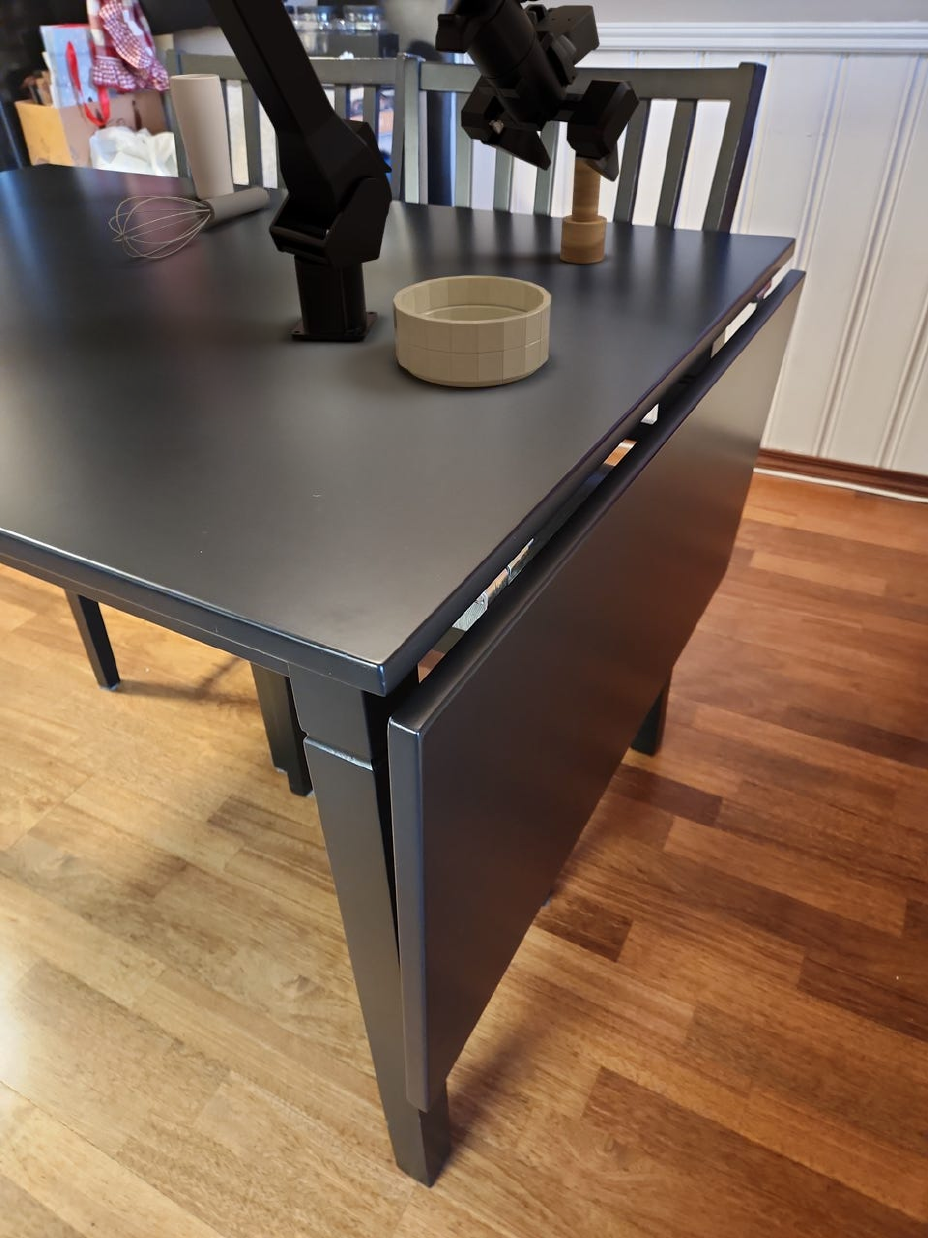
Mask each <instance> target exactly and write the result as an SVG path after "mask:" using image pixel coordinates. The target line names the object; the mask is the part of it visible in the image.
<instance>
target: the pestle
mask: <svg viewBox="0 0 928 1238" xmlns="http://www.w3.org/2000/svg"><path fill="white" fill-rule="evenodd" d="M576 153H577V152H576V151H575V150H574V168H573V185H572V200H571V201H572V202H571V214H569V215H566V216H563V217H562V218H561V232H560V233H561V235H560V252H559V253H560V254H559V259H560V260H561V261H563V262H566V263H570V264H575V265H576V264H578V265H589V264H596V263H599V262H602V261H603V260H604V259H605V249H606V236H607V226H608V225H607V224H608V223H607V222H608V218H607V217H605V216H603V215H600V214H599V207H600V193H601V179H602V175H600V174H599V173H597V172H596V171H595V170H593V169H592V168H591V167H589V166H588V165H586V164H585V163H583V162H582V161H581V160H579V159H578V158H576V157H575V155H576Z"/></svg>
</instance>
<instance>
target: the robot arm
mask: <svg viewBox="0 0 928 1238" xmlns="http://www.w3.org/2000/svg"><path fill="white" fill-rule="evenodd" d="M538 1H540V0H454V1H453V2H452V5H451V6H450V8H449V10H448V11H447V13H441V12H439V13H438V15H437V17H436V20H437V29H436V33H435V37H434V50H435V51H436V52H437V53H440V54H459V55H461V54H462V55H464V54H466V53H467V55H468V56H469V58H470V60H471V61H472V62H473V64H474V66H475V67H476V69H477V70H478V72H479V74H481V75H480V76H479V78H478V80H477V82H476V84H475V85H474V87H473V88H472V91H471V93H470V94H469V96H468V98H467V99H466V101H465V103H464V105H463V106H462V108H461V109H460V127H461V128H462V129H463V131H464V132H465V134H466V135H467V136H468V138H469V139H470V140H475V141H480V143H481V144H483V145H485V146H488V147H491V148H493V149H495V150H498V151H500V152H503V153H504V154H507V155H509V156H511V157H514V158H516V159H519V160H521V161H523V162H524V163H527V164H528V165H531V166H533V167H535V168H537V169H540V170H541V171H544V172H546V171H548V170H549V168H550V167H551V165H552V160H551V158H550V154H549V152H548V150H547V148H546V147H545V144H544V142H543V141H542V139H541V137H540V135H539V132H541V133H542V132H543V130H544V129H545V126H546V125H547V123H549V122H557V123H566V135H565V138H566V142H567V143H568V146H569V147H570V149H572V150H573V151H574V152H575V151H576V152H577V153H576V155H575V154H574V158H575V157H576V158H578V159H579V160H581V161H582V162H583V163H585V164H586V165H588V166H589V167H591V168H592V169H593V170H595V171H596V172H597V173H599V174H600V175H601V177H603V178H604V179H606V180H608V181H609V182H611V183H614V182H616V180H617V178H618V176H619V175H620V162H619V161H620V160H619V147H618V146H619V145H618V142H619V139H620V137H621V136H622V134H623V132H624V131H625V129H626V127H627V125H628V123H630V120H631V118H632V117H633V115H634V114H635V112H636V110H637V108H638V106H639V105H640V99H639V96H638V94H637V91H636V90H635V88H634V85H633V83H632V81H631V80H626V79H611V78H596V79H591V81H590V83H589V84H588V86H587V88H586V89H585V91H584V93H575V92H568V91H567V88H568V86H572V85H573V84H574V83H575V81H576V80H577V78H578V76H579V72H578V70H577V68H576V65H578V64H579V63H580V62H581V61H582V60H583V59H584V58H585V57H587V55H588V54H590V52H592V51H596V50H597V49H598V48H599V46H600V44H601V43H600V38H599V37H600V36H599V33H598V27H597V22H596V17H595V11H594V7H593V6H592V5H589V4H582V5H581V4H580V5H579V4H577V5H575V4H566V5H565V4H564V5H560V6H557V7H549V8H547V7H546V6H545V5H544V4H542V3H534V2H538ZM205 2H206V3H207V5H208V7H209V9H210V12H211V13H212V15H213V17H214V19H215V21H216V22H217V24H218V26H219V28H220V30H221V32H222V33H223V35H224V37H225V39H226V41H227V43H228V45H229V47H230V49H231V51H232V53H233V54H234V56H235V58H236V60H237V62H238V64H239V65H240V68H241V70H242V71H243V74H244V75H245V77H246V78H247V81H248V83H249V84H250V86H251V88H252V90H253V92H254V94H255V96H256V97H257V99H258V101H259V103H260V105H261V107H262V109H263V111H264V113H265V115H266V117H267V119H268V120H269V122H270V124H271V126H272V128H273V129H274V132H275V135H276V138H277V148H278V161H279V171H280V174H281V176H282V180H283V182H284V185H285V187H286V190H287V194H286V197H285V198H284V200H283V202H282V204H281V205H280V207H279V209H278V211H277V212H276V214H275V216H274V217H273V219H272V220H271V223H270V225H269V226H268V233H269V235H270V237H271V239H272V241H273V244H274V245H275V248H276V250H277V252H280V253H286V254H289V255H292V256H293V262H294V263H293V264H294V269H295V277H296V285H297V292H298V299H299V300H298V301H299V306H300V314H301V320H300V321H299V322H298V323H297V324H296V325H295V327H294V328H293V329H292V330H291V332H290V336H291V339H294V340H329V341H330V340H331V341H332V340H334V341H335V340H336V341H363V340H365V339H366V338H367V336H368V335H369V332H370V331H371V329H372V328H373V326H374V324H375V322H376V321H377V319H378V312H377V311H372V310H371V311H367V302H366V291H365V279H364V269H363V268H364V267H363V264H366V263H370V262H373V261H378V260H379V258H380V254H381V249H382V245H383V239H384V233H385V228H386V223H387V219H388V215H389V211H390V205H391V203H392V202H393V198H394V196H393V189H392V185H391V182H390V179H389V177H388V174H391V173H392V172H393V168H392V167H391V166H390V165H389V164H388V163H387V162H386V161H385V159H384V156H383V155H382V153H381V150H380V147H379V144H378V141H377V138H376V137H377V136H376V134H375V131H374V130H373V128H372V126H371V124H370V123H369V122H368V121H365V120H364V121H363V120H357V119H350V118H349V119H348V118H342V117H341V116H340V115H339V114H338V113H337V111H336V110H335V109H334V108H333V107H334V106H332V104H331V101H330V100H329V97H328V95H327V93H326V91H325V89H324V86H323V85H322V83H321V82H322V81H321V80H320V78H319V76H318V74H317V72H316V70H315V67H314V65H313V63H312V61H311V59H310V57H309V54H308V52H307V50H306V48H305V46H304V44H303V41H302V40H301V37H300V34H299V33H298V30H297V29H296V27H295V25H294V22H293V20H292V18H291V16H290V14H289V11H288V9H287V7H286V5H285V3H284V1H283V0H205ZM526 2H530V3H529V4H528V5H526V6H525V7H523V5H522V4H526ZM531 2H532V3H531Z"/></svg>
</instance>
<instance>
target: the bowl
mask: <svg viewBox="0 0 928 1238" xmlns="http://www.w3.org/2000/svg"><path fill="white" fill-rule="evenodd" d="M551 308H552V294H551V293H550V292H549V291H548V290H547V289H546V288H544V287H542V286H540V285H538V284H535V283H533V282H530V281H527V280H521V279H518V278H514V277H506V276H497V275H459V276H455V275H454V276H444V277H439V278H434V279H427V280H424V281H421V282H416V283H414V284H411V285H408V286H406V287H404V288H403V289H401V290H399V291H398V292H396V293H395V295H394V297H393V298H392V313H393V314H392V315H393V326H394V338H395V339H394V342H395V343H394V344H395V356H396V358H397V361H398V364H399V365H400V366H401V367H403V368H404V369H406V370H407V372H409V373H410V374H411V375H413V376H414V377H416V378H418V379H419V380H422V381H425V382H429V383H433V384H437V385H442V386H448V387H459V388H480V387H482V388H483V387H492V386H499V385H505V384H509V383H512V382H517V381H520V380H523V379H525V378H527V377H529V376H531V375H532V374H534V373H535V372H536V371H537V370H538V369H540V368H541V367H542V365H544V364H545V363H546V362H547V361H549V354H550V353H549V352H550V334H551V333H550V332H551V331H550V330H551V312H552V311H551Z"/></svg>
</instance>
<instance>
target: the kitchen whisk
mask: <svg viewBox="0 0 928 1238" xmlns="http://www.w3.org/2000/svg"><path fill="white" fill-rule="evenodd" d="M266 189H267V190H266ZM270 195H271V190H270V188H269V187H267V186H264V185H263V186H262V187H260V186H259V187H258V186H255V187H251V188H247V189H243V190H239V191H234V193H230V194H226V195H222V196H218V197H214V198H210V199H206V200H199V201H198V202H197V201H194V200H191V199H190V200H189V199H188V198H187V199H186V198H181V197H174V196H155V195H139V196H133V197H129V198H127V199H125V200H123V201H122V202H120V204H119V205H118V207H117V208H116V210H115V211H116V215H115V216H113V217H111V218H110V220H109V221H108V225H109V227H110V228H111V230H113V231H114V232H115V233H117V234H119V235H117V236H115V237H114V238H112V240H111V242H112V243H118V242H121V241H122V244H121V245H122V249H123V250H124V253H125V255H128V256H130V257H131V258H142V257H143V258H147V259H162V258H164V257H168V256H170V255H172V254H174V253H176V252H177V251H179V250H181V248H183V247H184V246H185V245H186V244H187V243H189V242H190V241H191V240H192V239H193V238H194V237H195V235H196V234H198V233H199V231H201V229H202V228H203V226H204V225H210V224H213V223H218V222H220V221H224V220H227V219H231V218H234V217H238V216H241V215H244V214H248V213H251V212H254V211H258V210H261V209H264V208H265V207H266V206H267V205H268V204H269V203H270ZM139 198H140V199H141V198H149V199H146V200H144V201H142V202H139V203H138V204H137V205H136V206H134V208H132V210H130V212H126V213H125V212H124V213H121V214H119V210H120V208H121V206H122V205H123V204H124V203H126V202H128V201H130V200H134V199H139ZM159 199H164V200H172V201H177V202H181V203H185V204H189V205H193V206H195V208H167V209H165V208H164V209H150V210H149V209H148V210H138V211H135V210H137V208H138V207H140V206H141V205H143V204H144V203H146V202H149V201H152V200H159ZM164 211H186V212H180V213H176V214H172V215H168V216H163V217H160V218H158V219H154V220H151V221H147V222H146V223H143V224H141V225H138V226H136V227H133V228H131V229H129V230H127V231H125V230H126V227H127V222H128V220H129V218H130V217H131V216H132V215H133V214H138V213H139V214H140V213H149V212H164ZM192 213H195V215H194V216H191V217H188V218H185V219H182V220H179V221H176V222H173V223H170V224H167V225H165V226H162V227H158V228H155V229H152V230H149V231H146V232H143V233H140V234H136V235H133V236H127V235H126V234H128V233H130V232H132V231H134V230H137V229H139V228H141V227H142V228H143V227H144V226H146V225H147V226H148V225H149V224H152V223H155V222H159V221H162V220H165V219H168V218H172V217H176V216H180V215H185V214H192ZM126 215H128V216H127V217H126V219H125V222H124V225H123V229H122V228H121V226H120V223H119V221H118V220H119V217H122V216H126ZM194 218H197V219H198V220H199V221H197V222H196V223H195V224H194V225H193V226H191V227H190V228H188V229H187V230H186V231H185V232H183V233H182V234H180V235H179V236H177V237H176V238H174V239H172V240H170V241H161V242H152V241H151V242H148V241H143V240H140V239H139V240H138V239H134V238H136V237H141V236H143V235H146V234H150V233H153V232H155V231H159V230H162V229H165V228H168V227H171V226H174V225H177V224H179V223H182V222H186V221H188V220H191V219H194ZM114 219H116V224H117V226H118V228H119V231H120V232H119V231H118V230H116V229H115V228H114V227H113V226H112V224H111V222H112V221H113V220H114ZM198 224H199V225H198ZM197 225H198V226H197ZM196 226H197V227H196ZM195 227H196V228H195ZM193 228H194V229H193ZM192 229H193V230H192ZM189 231H190V232H189ZM193 233H194V234H193ZM185 234H186V235H185ZM191 234H193V235H191ZM190 235H191V237H189V238H188V240H187V241H185V242H184V243H183V244H182V245H180V246H179V247H178V248H176V249H175V250H173V251H171V252H169V253H167V254H164V255H161V256H148V255H152V254H153V253H155V252H158V251H160V250H162V249H164V248H165V247H167V246H169V245H170V244H172V243H174V242H176V241H180V240H182V239H184V238H187V237H188V236H190ZM120 237H121V239H118V238H120ZM128 240H131V241H134V242H138V243H141V244H147V245H148V244H149V245H161V244H162V245H163V246H161V247H159V248H157V249H155V250H152V251H151V252H148V253H145V254H142V253H140V252H139V251H137V250H136V249H135V248H133V246H132V245H131V244H130V242H129V241H128ZM125 242H126V243H127V245H128V246H129V247H130V249H131V250H133V251H134V252H135V253H136V254H138V255H132V254H130V253H128V252H127V250H126V248H125ZM164 244H165V245H164Z"/></svg>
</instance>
